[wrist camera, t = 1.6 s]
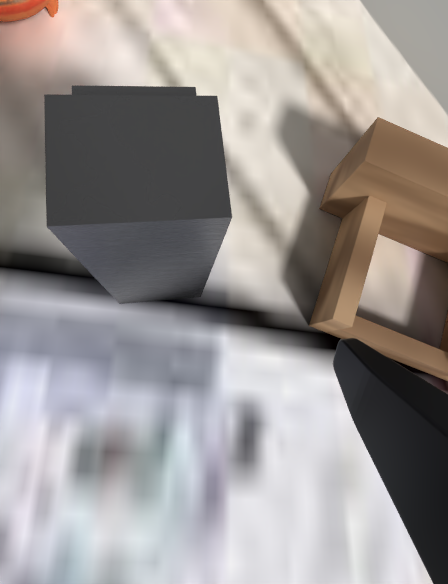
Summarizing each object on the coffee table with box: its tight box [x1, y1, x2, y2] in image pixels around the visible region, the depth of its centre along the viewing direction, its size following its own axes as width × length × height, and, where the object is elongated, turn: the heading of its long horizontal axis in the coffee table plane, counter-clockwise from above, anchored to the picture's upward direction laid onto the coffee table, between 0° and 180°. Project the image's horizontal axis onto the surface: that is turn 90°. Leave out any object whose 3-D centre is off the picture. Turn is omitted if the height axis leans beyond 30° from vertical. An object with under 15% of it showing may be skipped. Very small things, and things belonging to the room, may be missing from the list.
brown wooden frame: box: [309, 117, 448, 381], centre depth 21 cm, size 11×14×6 cm
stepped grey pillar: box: [44, 86, 232, 304], centre depth 16 cm, size 5×5×12 cm
